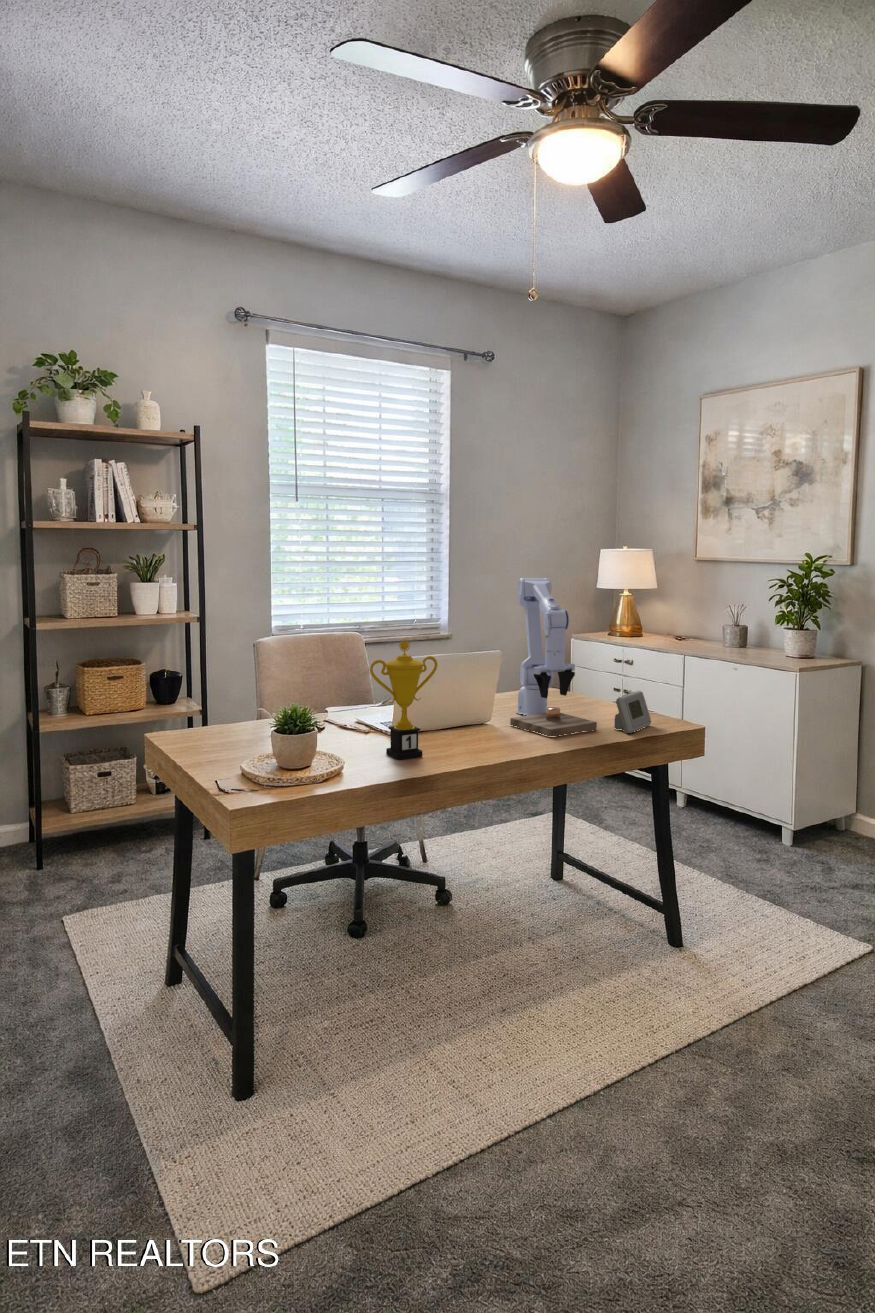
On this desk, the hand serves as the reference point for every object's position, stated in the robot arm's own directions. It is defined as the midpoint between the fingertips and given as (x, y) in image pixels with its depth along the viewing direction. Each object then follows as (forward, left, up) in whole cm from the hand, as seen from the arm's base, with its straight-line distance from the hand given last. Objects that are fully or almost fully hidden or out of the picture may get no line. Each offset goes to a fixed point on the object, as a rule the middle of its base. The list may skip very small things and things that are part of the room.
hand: (553, 696), depth 238 cm
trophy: (+3, -54, -10) cm, 55 cm away
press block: (0, 0, -10) cm, 10 cm away
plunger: (0, 0, -9) cm, 9 cm away
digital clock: (+14, +20, -10) cm, 26 cm away
